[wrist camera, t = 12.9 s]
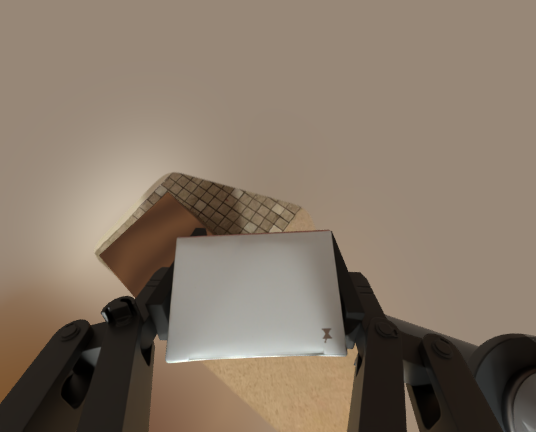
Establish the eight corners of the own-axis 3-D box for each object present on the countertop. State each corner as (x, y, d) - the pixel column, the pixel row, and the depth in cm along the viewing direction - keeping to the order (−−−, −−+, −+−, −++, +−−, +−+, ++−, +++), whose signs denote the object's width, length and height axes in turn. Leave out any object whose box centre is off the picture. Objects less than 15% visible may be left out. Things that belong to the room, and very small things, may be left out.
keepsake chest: (248, 263, 36) (238, 258, 27) (198, 319, 34) (167, 336, 24) (194, 212, 39) (167, 191, 30) (145, 261, 37) (98, 255, 27)
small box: (304, 252, 20) (336, 227, 10) (309, 314, 19) (354, 358, 9) (221, 255, 20) (173, 233, 10) (220, 318, 19) (160, 366, 9)
